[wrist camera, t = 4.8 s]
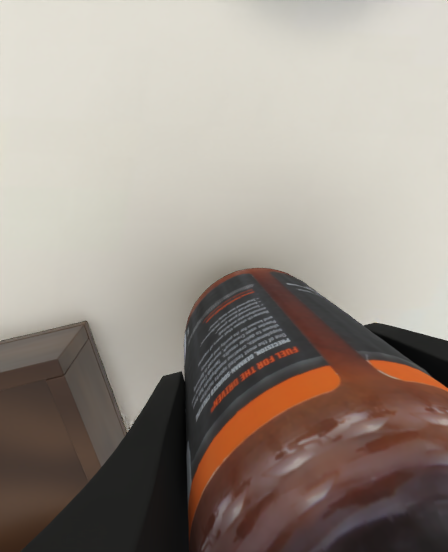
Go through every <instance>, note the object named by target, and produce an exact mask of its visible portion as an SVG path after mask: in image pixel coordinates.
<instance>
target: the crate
mask: <svg viewBox="0 0 448 552" xmlns="http://www.w3.org/2000/svg"><path fill="white" fill-rule="evenodd" d="M126 434H127V431H126V429H125V426H124V423H123V420H122V418H121V415H120V412H119V409H118V406H117V404H116V401H115V398H114V395H113V393H112V390H111V387H110V384H109V381H108V379H107V376H106V373H105V370H104V368H103V365H102V362H101V359H100V356H99V354H98V351H97V348H96V345H95V343H94V340H93V337H92V334H91V331H90V329H89V326H88V323H87V321H84V322H80V323H76V324H72V325H67V326H63V327H59V328H55V329H50V330H46V331H42V332H37V333H33V334H29V335H25V336H20V337H16V338H12V339H8V340H3V341H0V552H20V551H21V550H22V549H23V548H25V547H26V546H27V545H28V544H29V543H30V542H31V541H32V540H33V539H34V538H35V537H36V536H37V535H38V534H39V533H40V532H41V531H42V530H43V529H44V528H45V527H46V526H47V525H48V524H49V523H50V522H51V521H52V520H53V519H54V518H55V517H56V516H57V515H58V514H59V513H60V512H61V511H62V510H63V509H64V508H65V507H66V506H67V505H68V504H69V503H70V502H71V500H72V499H73V498H74V497H75V496H76V495H77V494H78V493H79V492H80V491H81V490H82V489H83V488H84V487H85V486H86V484H87V483H88V482H89V481H90V480H91V479H92V478H93V476H94V475H95V474H96V473H97V472H98V470H99V469H100V468H101V467H102V466H103V465H104V463H105V462H106V461H107V460H108V458H109V457H110V456H111V455H112V453H113V452H114V451H115V449H116V448H117V447H118V445H119V444H120V442H121V441H122V440H123V438H124V437H125V435H126Z"/></svg>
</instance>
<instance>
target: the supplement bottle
mask: <svg viewBox="0 0 448 552" xmlns="http://www.w3.org/2000/svg"><path fill="white" fill-rule="evenodd" d="M184 362H185V366H184V369H185V412H186V416H185V420H186V449H187V453H186V460H187V498H188V522H189V552H448V388H447V387H445V386H444V385H443V384H441V383H440V382H438V381H437V380H435V379H434V378H433V377H431V375H430V374H429V373H428V372H427V371H426V370H424V369H423V368H421V367H420V366H418V365H417V364H415V363H413V362H412V361H411V360H410V359H408V358H407V357H405V356H404V355H402V354H401V353H400V352H399V351H397V350H396V349H395V348H393V347H392V346H390V345H389V344H388V343H386V342H385V341H384V340H382V339H381V338H380V337H378V336H377V335H375V334H374V333H372V332H371V331H370V330H369V329H367V328H366V327H364V326H363V325H362V324H360V323H359V322H357V321H356V320H355V319H353V318H352V317H351V316H349V315H348V314H347V313H345V312H344V311H342V310H341V309H340V308H338V307H337V306H336V305H334V304H333V303H331V302H330V301H328V300H327V299H326V298H325V297H323V296H321V295H320V294H319V293H317V292H316V291H315V290H314V289H313V288H311V287H309V286H308V285H307V284H305V283H304V282H302V281H301V280H299V279H297V278H295V277H293V276H291V275H289V274H288V273H285V272H282V271H278V270H274V269H268V268H251V269H244V270H239V271H236V272H233V273H231V274H228V275H226V276H224V277H223V278H221V279H219V280H218V281H216V282H215V283H213V284H212V285H211V286H210V287H209V288H208V289H206V291H205V292H204V293H203V294H202V295H201V296H200V297H199V298H198V300H197V301H196V303H195V304H194V306H193V308H192V310H191V312H190V315H189V317H188V321H187V325H186V330H185V339H184Z"/></svg>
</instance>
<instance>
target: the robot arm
mask: <svg viewBox="0 0 448 552" xmlns="http://www.w3.org/2000/svg"><path fill="white" fill-rule="evenodd" d="M364 327H366V328H367V329H369V330H370V331H371V332H372V333H374V334H375V335H377V336H378V337H380V338H381V339H382V340H384V341H385V342H386V343H388V344H389V345H390V346H392V347H393V348H395V349H396V350H397V351H399V352H400V353H401V354H402V355H404V356H405V357H407V358H408V359H410V360H411V361H412V362H413V363H415V364H417V365H418V366H420V367H421V368H423V369H424V370H426V371H427V372H428V373H429V374H430V375H431V377H433V378H434V379H435V380H437V381H438V382H440V383H441V384H443V385H444V386H445V387H447V388H448V341H446V340H442V339H438V338H435V337H431V336H427V335H423V334H420V333H416V332H412V331H409V330H405V329H401V328H397V327H393V326H389V325H385V324H380V323H372V324H368V325H364ZM185 416H186V412H185V381H184V378H183V374H182V371H181V372H177V373H173V374H169V375H165V376H163V377H162V378H161V380H160V382H159V383H158V385H157V387H156V388H155V390H154V392H153V393H152V395H151V397H150V398H149V400H148V402H147V403H146V405H145V407H144V408H143V410H142V411H141V413H140V414H139V416H138V418H137V419H136V421H135V422H134V424H133V425H132V427H131V428H130V430H129V431H128V433H127V434H126V435H125V437H124V438H123V440H122V441H121V442H120V444H119V445H118V447H117V448H116V449H115V451H114V452H113V453H112V455H111V456H110V457H109V458H108V460H107V461H106V462H105V463H104V465H103V466H102V467H101V468H100V469H99V470H98V472H97V473H96V474H95V475H94V476H93V478H92V479H91V480H90V481H89V482H88V483H87V484H86V486H85V487H84V488H83V489H82V490H81V491H80V492H79V493H78V494H77V495H76V496H75V497H74V498H73V499H72V500H71V502H70V503H69V504H68V505H67V506H66V507H65V508H64V509H63V510H62V511H61V512H60V513H59V514H58V515H57V516H56V517H55V518H54V519H53V520H52V521H51V522H50V523H49V524H48V525H47V526H46V527H45V528H44V529H43V530H42V531H41V532H40V533H39V534H38V535H37V536H36V537H35V538H34V539H33V540H32V541H31V542H30V543H29V544H28V545H27V546H26V547H25V548H23V549H22V550H21V551H20V552H189V522H188V498H187V460H186V453H187V449H186V420H185Z"/></svg>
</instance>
